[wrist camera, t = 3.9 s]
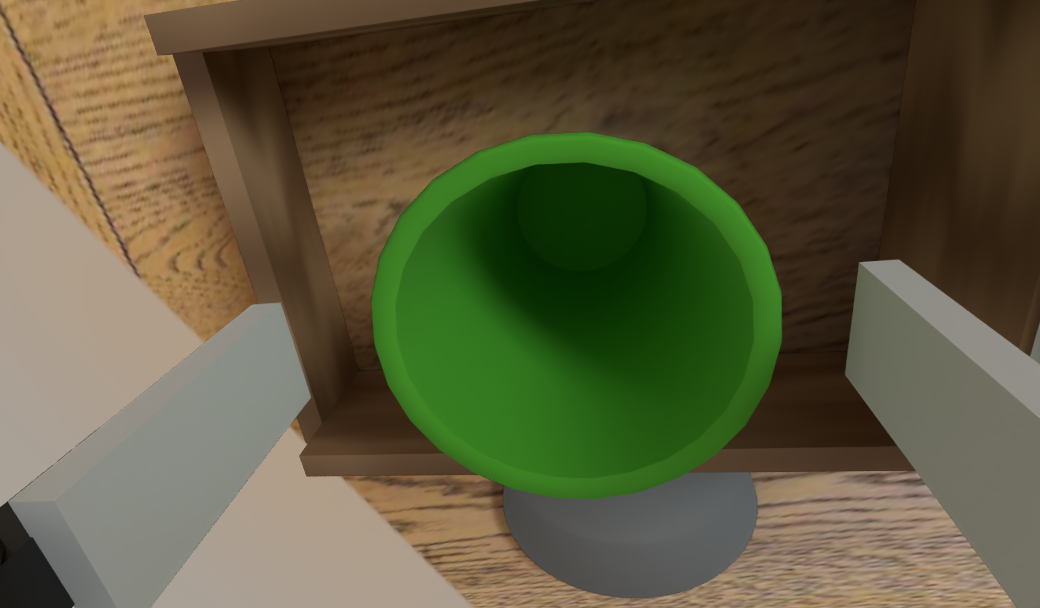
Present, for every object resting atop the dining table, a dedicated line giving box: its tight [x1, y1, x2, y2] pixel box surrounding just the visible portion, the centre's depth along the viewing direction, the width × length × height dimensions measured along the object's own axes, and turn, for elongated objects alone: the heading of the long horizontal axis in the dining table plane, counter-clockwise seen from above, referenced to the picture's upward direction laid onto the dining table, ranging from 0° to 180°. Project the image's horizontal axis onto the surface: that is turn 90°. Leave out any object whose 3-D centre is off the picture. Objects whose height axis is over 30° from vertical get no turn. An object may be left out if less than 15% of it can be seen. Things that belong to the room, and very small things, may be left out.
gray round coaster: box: [503, 472, 758, 598], centre depth 28 cm, size 12×12×1 cm
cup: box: [371, 132, 782, 499], centre depth 18 cm, size 9×9×11 cm
